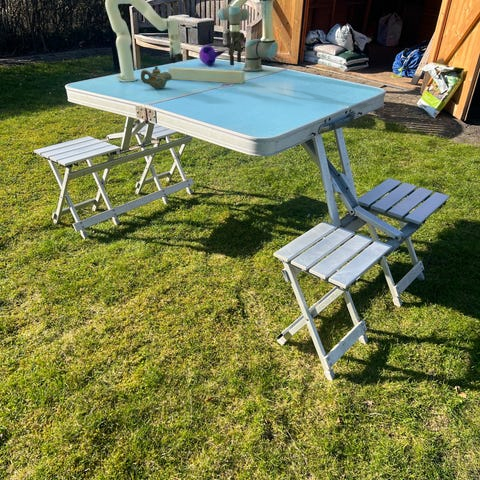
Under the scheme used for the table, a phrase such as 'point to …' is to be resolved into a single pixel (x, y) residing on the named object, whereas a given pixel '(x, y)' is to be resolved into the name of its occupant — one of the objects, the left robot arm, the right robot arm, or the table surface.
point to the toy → (209, 55)
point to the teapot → (155, 78)
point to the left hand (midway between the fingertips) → (176, 61)
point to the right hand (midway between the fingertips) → (235, 63)
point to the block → (207, 75)
